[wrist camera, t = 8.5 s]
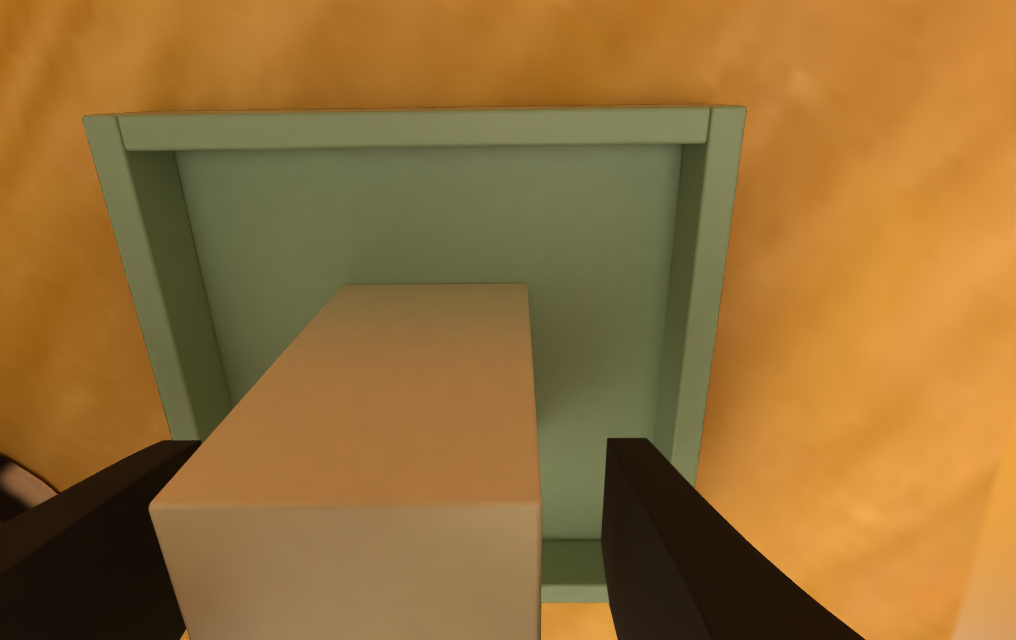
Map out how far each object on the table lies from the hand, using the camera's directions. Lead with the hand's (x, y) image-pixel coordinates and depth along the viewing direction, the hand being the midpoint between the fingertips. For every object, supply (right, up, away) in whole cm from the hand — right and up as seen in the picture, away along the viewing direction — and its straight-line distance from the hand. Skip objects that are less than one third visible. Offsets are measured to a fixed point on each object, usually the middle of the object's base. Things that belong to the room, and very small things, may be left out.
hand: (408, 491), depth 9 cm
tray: (0, +2, +4) cm, 5 cm away
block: (0, +2, +4) cm, 4 cm away
